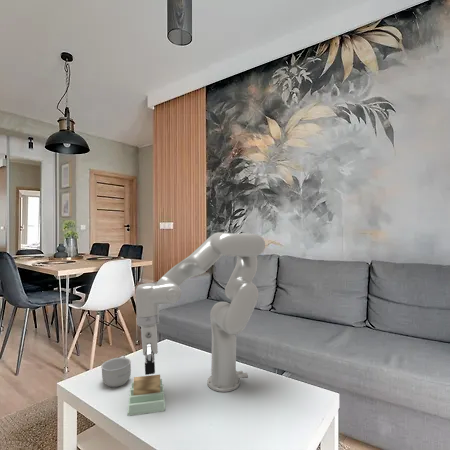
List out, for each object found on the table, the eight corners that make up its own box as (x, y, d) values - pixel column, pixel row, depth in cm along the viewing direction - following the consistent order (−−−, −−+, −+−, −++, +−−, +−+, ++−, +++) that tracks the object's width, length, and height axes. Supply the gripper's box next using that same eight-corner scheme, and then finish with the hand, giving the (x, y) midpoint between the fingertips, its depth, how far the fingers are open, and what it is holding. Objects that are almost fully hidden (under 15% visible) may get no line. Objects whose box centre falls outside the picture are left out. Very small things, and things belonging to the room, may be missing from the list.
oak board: (159, 393, 111) (160, 374, 111) (160, 397, 109) (160, 378, 109) (133, 397, 109) (134, 377, 109) (133, 401, 107) (133, 380, 107)
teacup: (121, 392, 114) (121, 370, 114) (95, 388, 116) (95, 367, 116) (139, 374, 128) (139, 354, 128) (115, 371, 130) (115, 352, 130)
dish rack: (163, 386, 118) (163, 378, 118) (165, 410, 103) (165, 401, 103) (130, 390, 115) (130, 381, 115) (127, 415, 100) (127, 405, 100)
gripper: (159, 326, 102) (161, 377, 102) (158, 311, 119) (160, 355, 119) (136, 328, 100) (138, 381, 100) (137, 313, 117) (139, 358, 117)
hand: (150, 367), depth 110 cm, fingers open, 9 cm apart
